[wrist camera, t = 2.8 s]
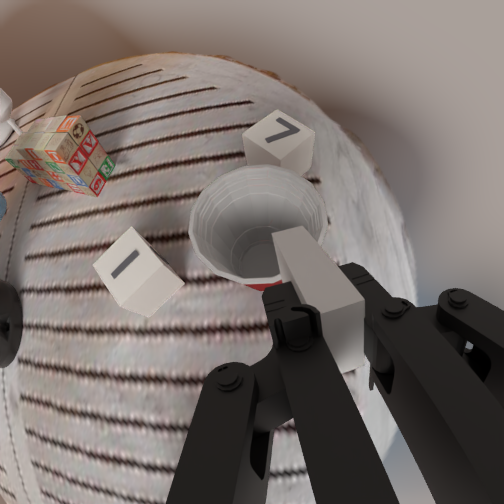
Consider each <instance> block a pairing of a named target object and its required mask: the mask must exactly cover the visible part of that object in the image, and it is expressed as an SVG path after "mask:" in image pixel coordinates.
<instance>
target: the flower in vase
mask: <svg viewBox="0 0 504 504" xmlns="http://www.w3.org/2000/svg"><path fill="white" fill-rule="evenodd" d="M12 120H13V121H14V122H15V120H14V119H12ZM12 131H13V128H12V127H11V126H10V124H9V123H8V122H7V121H6V122H2V123H0V146H2V145H3V143H4V142H5V141H6V140H7V139H8V137H9V136H10V134H11V133H12Z"/></svg>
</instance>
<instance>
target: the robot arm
mask: <svg viewBox="0 0 504 504" xmlns="http://www.w3.org/2000/svg"><path fill="white" fill-rule="evenodd" d="M6 204H7V203H6V199H5V197H4V196H3V194H2V193H1V192H0V221H1V219H2V218H3V216H4V214H5V212H6V206H7V205H6ZM272 237H273V242H274V246H275V251H276V255H277V260H278V264H279V269H280V273H281V278H282V283H281V284H278V285H274V286H270V287H266V288H265V290H264V292H263V294H262V300H263V304H264V307H265V311H266V315H267V319H268V323H269V328H270V332H271V335H272V339H273V346H272V349H271V351H270V352H269V354H268V355H267V356H266V357H265V358H264V359H262V360H261V361H259V362H257V363H255V364H254V365H252V366H248V365H246V364H244V363H238V362H231V363H225V364H222V365H220V366H218V367H216V368H215V369H214V370H212V371H211V372H210V373H209V374H208V376H207V378H206V379H205V381H204V384H203V387H202V391H201V394H200V397H199V400H198V403H197V406H196V409H195V412H194V416H193V419H192V422H191V425H190V428H189V431H188V434H187V438H186V441H185V444H184V447H183V450H182V453H181V456H180V460H179V463H178V466H177V469H176V472H175V475H174V479H173V482H172V485H171V488H170V491H169V495H168V498H167V501H166V504H265V503H266V495H267V487H268V479H269V471H270V463H271V454H272V445H273V435H274V428H276V427H278V426H280V425H282V424H283V423H285V422H287V421H289V420H290V419H292V418H294V422H295V426H296V430H297V433H298V437H299V441H300V445H301V448H302V452H303V456H304V460H305V463H306V467H307V471H308V475H309V478H310V482H311V486H312V490H313V493H314V497H315V501H316V504H399V501H398V499H397V497H396V494H395V492H394V490H393V487H392V485H391V483H390V480H389V478H388V475H387V473H386V471H385V469H384V466H383V464H382V462H381V459H380V457H379V455H378V453H377V450H376V448H375V446H374V444H373V441H372V439H371V437H370V435H369V432H368V430H367V428H366V426H365V424H364V421H363V419H362V417H361V415H360V413H359V410H358V408H357V406H356V404H355V402H354V400H353V398H352V395H351V393H350V391H349V389H348V387H347V385H346V383H345V381H344V378H343V376H342V373H345V372H348V371H350V370H353V369H356V368H359V367H361V366H364V362H365V355H366V357H367V359H368V360H369V362H370V376H369V388H370V391H371V390H373V386H374V383H375V385H376V386H377V388H378V390H379V392H380V394H381V395H382V397H383V399H384V401H385V403H386V405H387V407H388V408H389V410H390V412H391V414H392V416H393V418H394V420H395V422H396V424H397V425H398V427H399V429H400V431H401V433H402V435H403V437H404V439H405V441H406V443H407V445H408V447H409V449H410V451H411V453H412V454H413V457H414V459H415V461H416V463H417V465H418V467H419V469H420V471H421V473H422V475H423V477H424V479H425V481H426V483H427V485H428V487H429V489H430V492H431V494H432V496H433V498H434V500H435V503H436V504H504V311H503V310H501V309H499V308H498V307H496V306H494V305H492V304H490V303H489V302H487V301H485V300H483V299H482V298H480V297H478V296H476V295H474V294H473V293H471V292H469V291H466V290H463V289H458V288H453V289H448V290H446V291H444V292H442V293H441V294H440V296H439V299H438V305H432V306H425V307H415V306H414V305H413V304H412V303H411V302H409V301H408V300H406V299H403V298H396V297H392V296H391V295H390V294H389V293H388V292H387V291H386V290H385V289H384V288H383V287H382V286H381V285H380V284H379V283H378V282H377V281H376V280H375V279H374V277H373V276H372V275H371V274H369V272H368V271H367V270H366V269H365V268H364V267H363V266H360V265H358V264H355V263H353V262H352V263H348V264H345V265H342V266H337V265H336V264H335V263H334V261H333V260H332V259H331V258H330V257H329V255H328V254H327V253H326V252H325V251H324V250H323V248H322V247H321V246H320V245H319V244H318V243H317V241H316V240H315V239H314V238H313V237H312V236H311V235H310V233H309V232H308V231H307V230H306V229H305V228H304V227H303V225H302V226H298V227H294V228H290V229H286V230H283V231H279V232H275V233H272ZM21 332H22V312H21V305H20V301H19V298H18V295H17V293H16V291H15V289H14V288H13V286H12V285H10V284H9V283H7V282H4V281H2V280H0V368H4V367H7V366H8V365H9V364H10V363H11V362H12V361H13V359H14V358H15V356H16V353H17V351H18V348H19V344H20V339H21ZM467 341H469V342H470V343H472V344H473V348H472V349H467V348H465V346H466V343H467Z"/></svg>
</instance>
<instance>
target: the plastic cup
mask: <svg viewBox="0 0 504 504" xmlns="http://www.w3.org/2000/svg"><path fill="white" fill-rule="evenodd" d="M302 225H303V227H304V228H305V229H306V230H307V231H308V232H309V233H310V235H311V236H312V237H313V238H314V239H315V240H316V241H317V243H318V244H319V245H320V246H322V243H323V240H324V237H325V234H326V231H327V227H328V221H327V215H326V208H325V202H324V201H323V199H322V198H321V196H320V195H319V193H318V192H317V190H316V189H315V187H314V186H313V185H312V183H311V182H309V181H308V180H306V179H305V178H303V177H302V176H300V175H299V174H297V173H296V172H294V171H292V170H289V169H285V168H281V167H277V166H273V165H269V164H266V165H251V166H243V167H240V168H238V169H235V170H232V171H230V172H227V173H225V174H222V175H220V176H219V177H218V178H217V179H216V180H214V181H213V182H212V183H211V184H209V185H208V186H207V187H206V188H205V189H203V190H202V192H201V194H200V196H199V197H198V199H197V201H196V202H195V204H194V206H193V208H192V209H191V214H190V223H189V231H188V234H189V237H190V239H191V242H192V245H193V248H194V251H195V254H196V256H197V257H198V258H199V259H200V260H201V261H202V262H203V263H204V264H205V265H206V266H207V267H208V268H209V269H210V270H211V271H212V272H213V273H214V274H216V275H219V276H222V277H225V278H227V279H230V280H233V281H235V282H238V283H241V284H244V285H246V286H249V287H251V288H253V289H256V290H259V291H264V290H265V288H266V287H270V286H274V285H278V284H281V283H282V278H281V273H280V269H279V264H278V260H277V255H276V251H275V246H274V242H273V237H272V233H275V232H279V231H283V230H286V229H290V228H294V227H298V226H302Z"/></svg>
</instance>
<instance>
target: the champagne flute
mask: <svg viewBox="0 0 504 504" xmlns="http://www.w3.org/2000/svg"><path fill="white" fill-rule="evenodd" d="M11 111H12V100H11V98H10V97H9V96H8V95H7V94H6V93H5V92H4V91H3V90H2V89H1V88H0V123H2V122H6V121H7V122H8V123H9V124H10V126H11V127H12V128H13V129H14V130H15V131H16V132H17V133H18V135H19V136H20V135H21V133H22V130H21V129H20V128H19V127H18V126H17V125H16V124H15V122H14V121H13V120H12V119H11V118H10V116H11Z"/></svg>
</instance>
